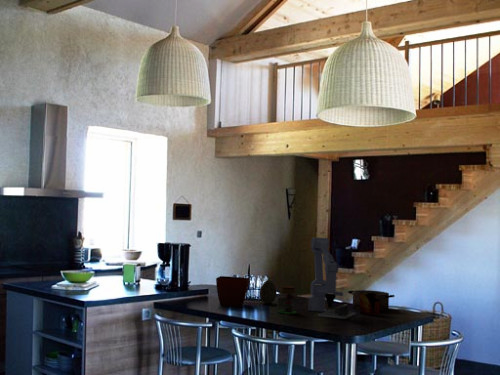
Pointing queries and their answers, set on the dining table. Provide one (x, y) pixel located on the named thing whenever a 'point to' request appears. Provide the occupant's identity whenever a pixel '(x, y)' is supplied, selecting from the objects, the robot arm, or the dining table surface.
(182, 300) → the dining table surface
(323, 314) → the breaker panel
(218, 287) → the plant pot
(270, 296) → the decorative egg
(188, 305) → the dining table surface
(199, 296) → the dining table surface
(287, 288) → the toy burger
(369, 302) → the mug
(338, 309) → the breaker
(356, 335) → the dining table surface
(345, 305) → the breaker
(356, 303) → the cooking pot
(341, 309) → the breaker
